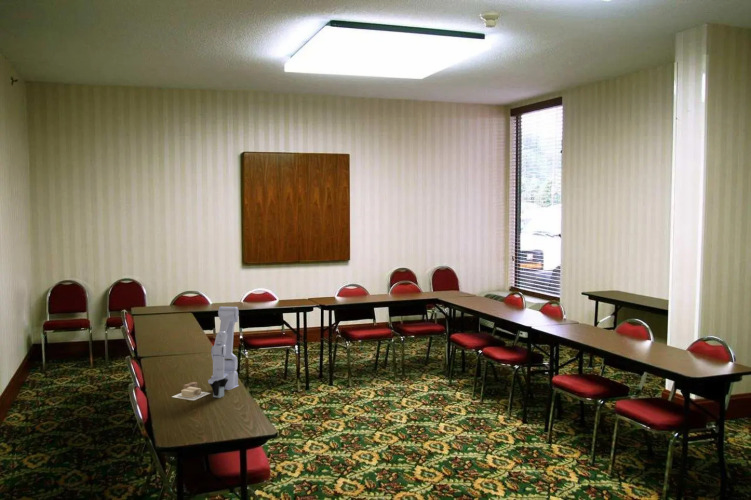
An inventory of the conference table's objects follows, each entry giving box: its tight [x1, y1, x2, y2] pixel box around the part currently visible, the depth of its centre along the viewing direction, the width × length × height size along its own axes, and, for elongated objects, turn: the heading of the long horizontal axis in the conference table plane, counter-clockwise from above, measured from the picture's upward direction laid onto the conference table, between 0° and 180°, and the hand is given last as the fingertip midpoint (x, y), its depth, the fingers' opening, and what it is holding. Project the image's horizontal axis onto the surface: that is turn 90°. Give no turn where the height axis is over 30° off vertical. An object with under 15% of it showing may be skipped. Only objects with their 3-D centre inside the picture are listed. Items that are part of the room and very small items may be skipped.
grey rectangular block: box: [212, 386, 225, 399], centre depth 328 cm, size 4×4×5 cm
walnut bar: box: [182, 381, 199, 390], centre depth 339 cm, size 8×3×3 cm, turn 158°
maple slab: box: [180, 387, 202, 398], centre depth 329 cm, size 7×7×3 cm
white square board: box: [171, 391, 211, 401], centre depth 329 cm, size 14×14×1 cm
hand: (218, 394), depth 328 cm, fingers closed on grey rectangular block, 4 cm apart
